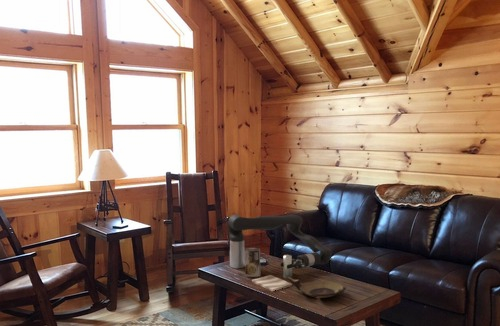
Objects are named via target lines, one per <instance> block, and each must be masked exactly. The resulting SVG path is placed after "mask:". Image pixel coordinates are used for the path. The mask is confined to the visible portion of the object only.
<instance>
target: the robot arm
mask: <svg viewBox="0 0 500 326" xmlns="http://www.w3.org/2000/svg"><path fill="white" fill-rule="evenodd" d="M303 221H304V219H303V217H301V216H300V215H297V214H289V215H288V214H287V215H262V216H257V217H243V216H240V215H238V214H233V215H230V217H229V218H228V222H227V223H228V226H227V227H228V236H229V266H230V268H232V269H242V268H245V235H244V233H243V231H247V230H258V231H272V230H275V229H277V228H279V227H282V226H284V225H286V229H287V231H288V232H289V233H291V234H292V235H294V237H296V238H297V239H299V240H301V241H302V243H304V244H305V245H306V246H307V247H308V248H309V249H310V250H311V251H312V252H311V253H305V254H301V255H297V257H296V258H292V264H289V265H287V269H289V268H292V269H296V270H297V269H303V268H306V267H307V268H308V267H311V266H314V265H326V264H328V263H329V261H330V259H331V257H332V255H333V253H332V250H331V249H330V248H329V247H327V246H325V245H324V244H322V243H321V242H319V241H318V239H316V238H315V237H314V236H313V235H309V234H306V233H303V232H302V231H301V227H302V224H303ZM280 266H281V267H283V261H282V262H280Z"/></svg>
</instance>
